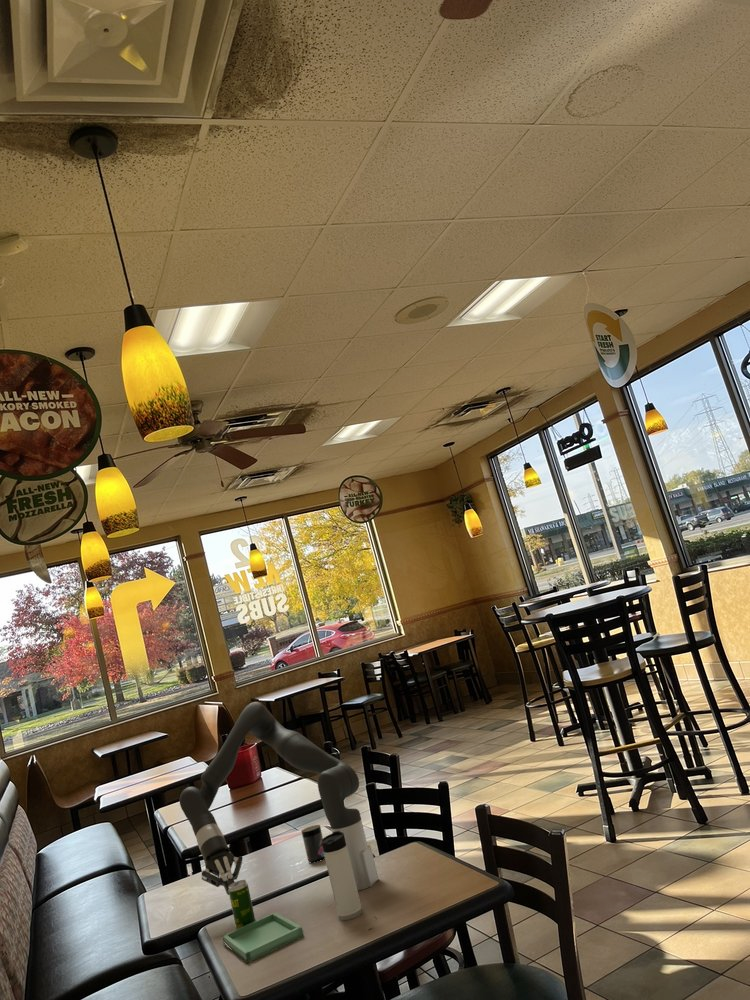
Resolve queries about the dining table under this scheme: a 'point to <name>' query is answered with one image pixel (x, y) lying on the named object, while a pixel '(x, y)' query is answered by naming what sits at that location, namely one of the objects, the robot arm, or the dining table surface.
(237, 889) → the beer can
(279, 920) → the tray
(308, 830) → the supplement container
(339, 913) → the travel mug
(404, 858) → the dining table surface
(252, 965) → the dining table surface
